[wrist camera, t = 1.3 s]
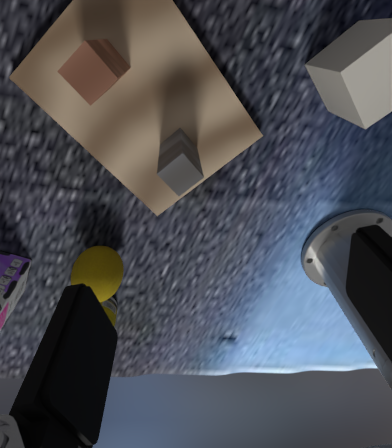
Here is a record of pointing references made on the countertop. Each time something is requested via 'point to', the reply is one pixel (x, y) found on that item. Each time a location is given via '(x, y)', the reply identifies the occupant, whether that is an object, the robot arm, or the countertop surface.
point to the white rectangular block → (357, 72)
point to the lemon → (99, 271)
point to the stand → (138, 95)
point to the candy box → (11, 282)
